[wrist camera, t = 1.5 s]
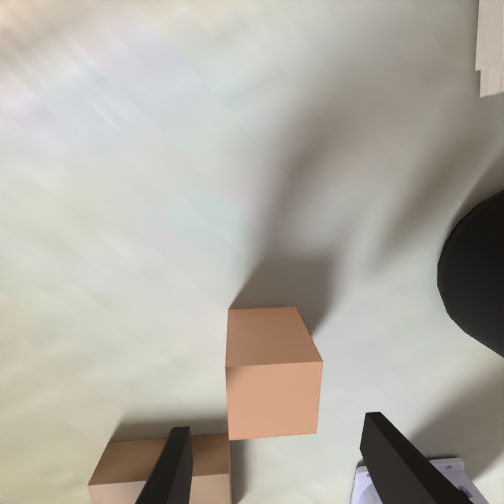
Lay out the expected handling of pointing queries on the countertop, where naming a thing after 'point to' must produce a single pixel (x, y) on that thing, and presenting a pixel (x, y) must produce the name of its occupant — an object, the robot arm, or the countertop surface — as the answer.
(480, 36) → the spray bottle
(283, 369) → the peach block
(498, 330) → the coffee jar
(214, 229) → the countertop surface
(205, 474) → the walnut box
